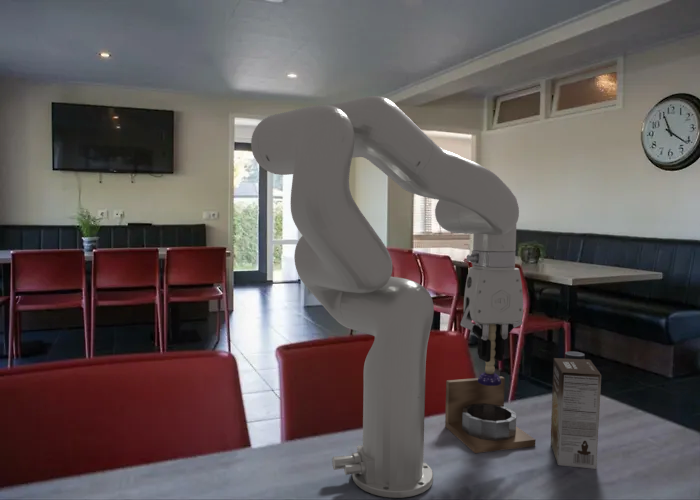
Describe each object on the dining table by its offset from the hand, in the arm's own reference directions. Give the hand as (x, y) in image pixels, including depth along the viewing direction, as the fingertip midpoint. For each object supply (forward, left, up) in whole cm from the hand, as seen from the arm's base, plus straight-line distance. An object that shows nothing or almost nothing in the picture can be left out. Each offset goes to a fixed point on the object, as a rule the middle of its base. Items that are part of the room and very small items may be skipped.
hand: (490, 358), depth 102 cm
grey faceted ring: (0, 0, -14) cm, 14 cm away
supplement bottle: (+27, +11, -15) cm, 33 cm away
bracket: (0, 0, -15) cm, 15 cm away
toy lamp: (0, 0, -5) cm, 5 cm away
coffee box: (+10, -11, -15) cm, 21 cm away
